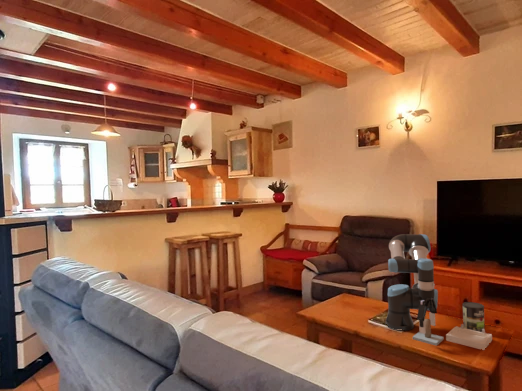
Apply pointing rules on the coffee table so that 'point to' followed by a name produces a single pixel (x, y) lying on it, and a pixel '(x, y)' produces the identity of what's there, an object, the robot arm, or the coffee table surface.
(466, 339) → the frame
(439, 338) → the grey panel with handle
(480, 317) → the coffee can
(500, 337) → the coffee table surface
